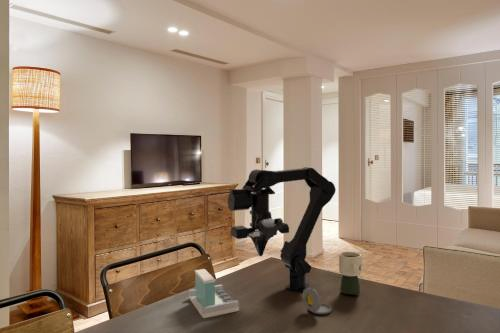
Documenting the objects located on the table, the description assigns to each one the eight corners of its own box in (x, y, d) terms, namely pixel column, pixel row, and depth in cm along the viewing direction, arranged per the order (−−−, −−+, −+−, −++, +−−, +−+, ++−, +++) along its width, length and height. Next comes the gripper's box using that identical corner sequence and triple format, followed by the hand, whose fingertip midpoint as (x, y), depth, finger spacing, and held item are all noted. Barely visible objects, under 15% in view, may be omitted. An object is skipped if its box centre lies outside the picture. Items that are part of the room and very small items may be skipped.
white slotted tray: (221, 292, 121) (221, 284, 121) (238, 310, 107) (238, 301, 107) (189, 298, 116) (189, 290, 116) (203, 318, 103) (203, 308, 103)
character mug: (365, 300, 114) (366, 259, 113) (343, 300, 114) (343, 259, 113) (356, 286, 125) (356, 249, 124) (335, 286, 125) (335, 249, 124)
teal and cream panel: (205, 294, 116) (204, 268, 116) (215, 307, 107) (215, 279, 106) (195, 296, 115) (194, 270, 114) (205, 309, 105) (204, 280, 105)
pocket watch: (332, 307, 109) (332, 274, 109) (329, 319, 101) (329, 284, 101) (305, 303, 112) (305, 271, 111) (300, 315, 104) (300, 281, 103)
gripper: (243, 215, 106) (244, 267, 107) (298, 209, 114) (298, 258, 115) (229, 209, 116) (230, 257, 117) (280, 204, 124) (280, 249, 125)
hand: (260, 255), depth 118 cm, fingers closed
